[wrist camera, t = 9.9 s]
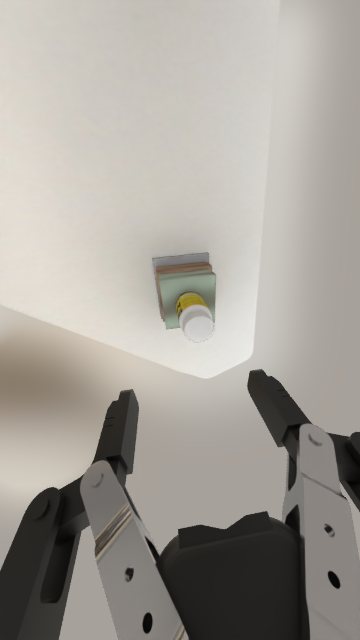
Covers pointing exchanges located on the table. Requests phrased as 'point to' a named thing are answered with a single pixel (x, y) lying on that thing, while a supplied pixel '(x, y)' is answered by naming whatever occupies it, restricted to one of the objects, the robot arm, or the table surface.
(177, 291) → the brick tower
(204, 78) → the table surface
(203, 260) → the baseplate
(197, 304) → the supplement bottle
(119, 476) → the robot arm
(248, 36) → the table surface
